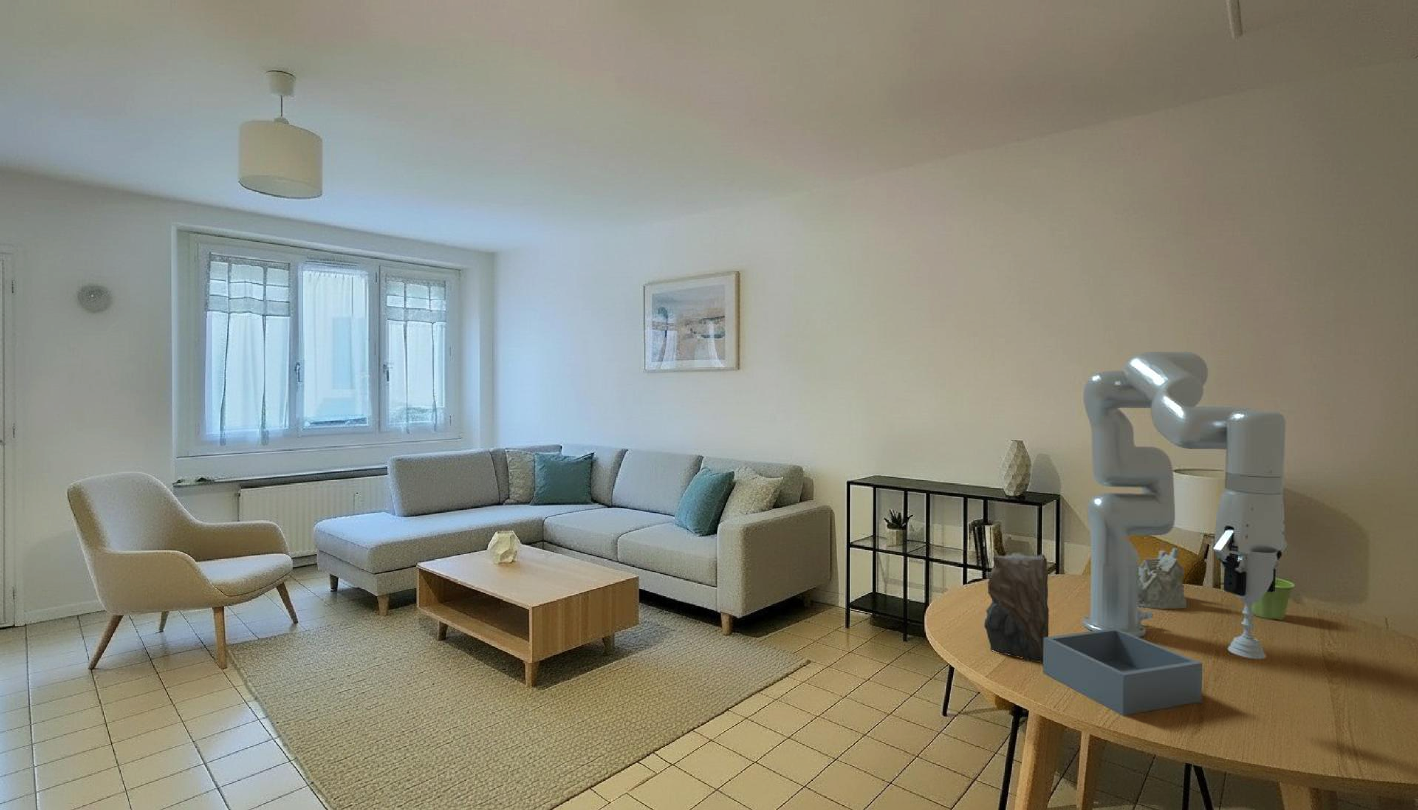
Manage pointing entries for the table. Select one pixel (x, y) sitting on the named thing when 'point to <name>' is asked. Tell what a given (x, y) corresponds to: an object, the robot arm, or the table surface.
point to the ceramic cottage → (1161, 582)
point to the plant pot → (1274, 601)
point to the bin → (1122, 670)
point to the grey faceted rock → (1018, 605)
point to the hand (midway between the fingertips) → (1249, 590)
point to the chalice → (1256, 587)
